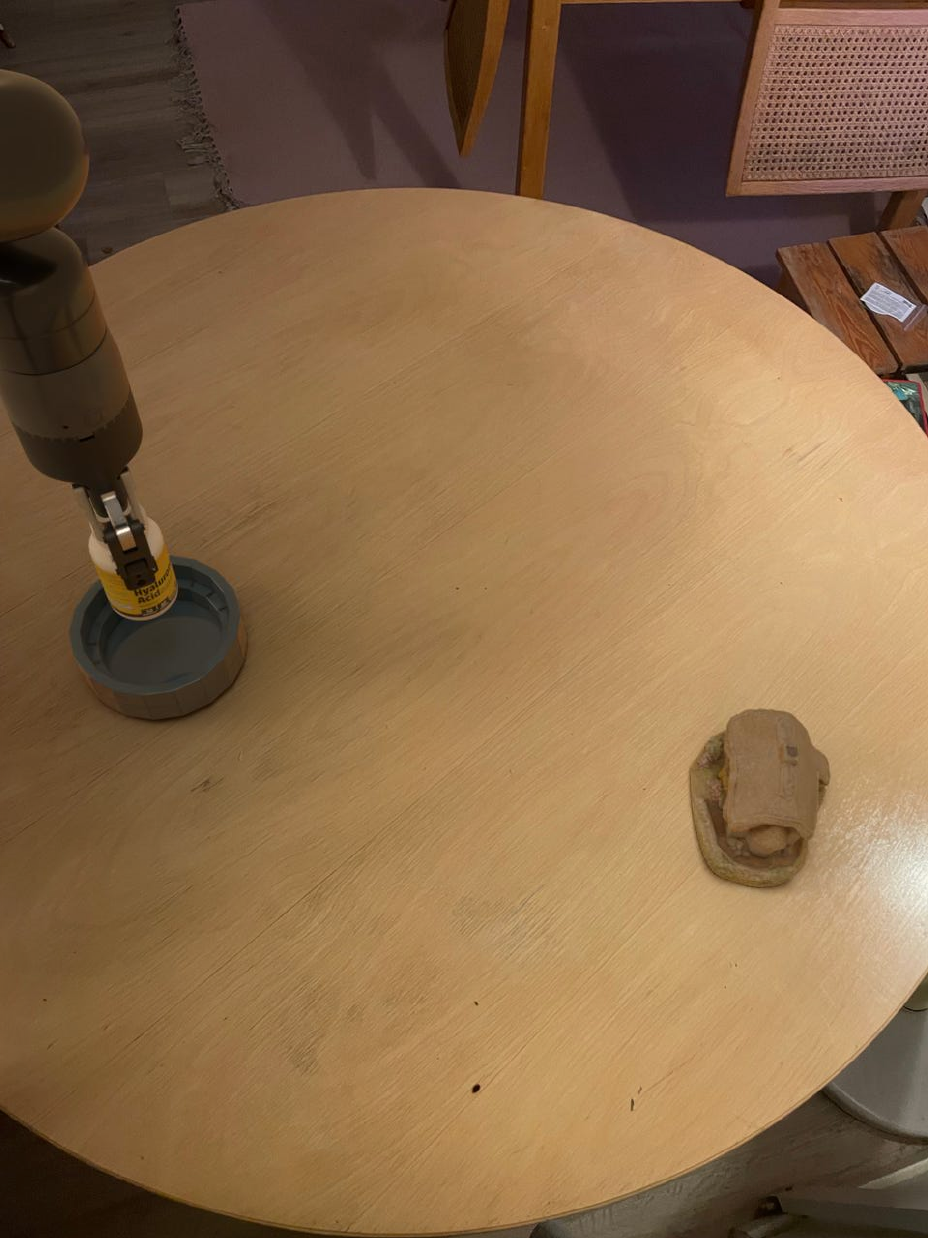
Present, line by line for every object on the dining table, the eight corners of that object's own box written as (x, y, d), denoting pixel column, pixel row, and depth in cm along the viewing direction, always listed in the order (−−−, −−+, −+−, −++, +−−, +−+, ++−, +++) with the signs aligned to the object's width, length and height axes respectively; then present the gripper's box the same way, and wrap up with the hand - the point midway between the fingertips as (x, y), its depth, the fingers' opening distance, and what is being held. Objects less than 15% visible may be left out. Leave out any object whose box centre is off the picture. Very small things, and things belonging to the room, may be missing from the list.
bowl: (101, 744, 86) (85, 716, 81) (74, 611, 93) (58, 578, 88) (264, 696, 89) (257, 667, 84) (226, 571, 96) (218, 537, 91)
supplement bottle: (148, 634, 81) (118, 558, 73) (95, 602, 82) (60, 525, 74) (193, 586, 84) (169, 508, 75) (141, 557, 85) (113, 477, 77)
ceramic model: (691, 719, 89) (720, 659, 81) (822, 742, 88) (865, 683, 80) (682, 876, 81) (713, 828, 73) (825, 902, 81) (873, 856, 72)
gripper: (-23, 335, 67) (53, 504, 81) (36, 490, 60) (108, 645, 74) (92, 303, 69) (147, 473, 83) (162, 449, 62) (209, 607, 76)
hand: (128, 554), depth 78 cm, fingers closed on supplement bottle, 5 cm apart
